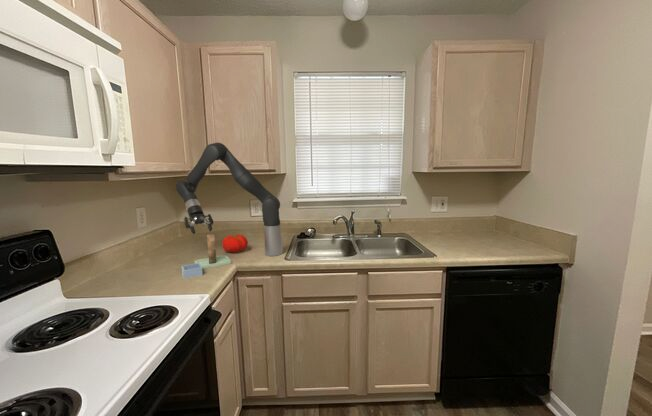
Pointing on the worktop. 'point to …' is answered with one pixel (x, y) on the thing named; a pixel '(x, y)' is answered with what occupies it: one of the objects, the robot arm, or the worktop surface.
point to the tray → (219, 261)
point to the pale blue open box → (192, 270)
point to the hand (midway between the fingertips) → (202, 231)
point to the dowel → (211, 248)
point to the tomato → (234, 243)
